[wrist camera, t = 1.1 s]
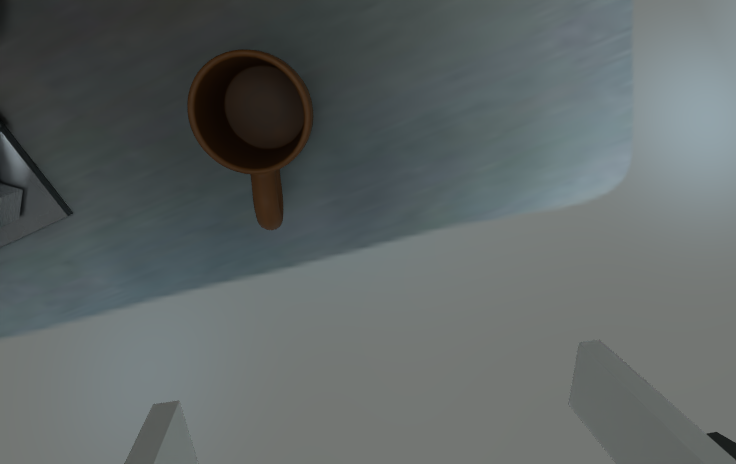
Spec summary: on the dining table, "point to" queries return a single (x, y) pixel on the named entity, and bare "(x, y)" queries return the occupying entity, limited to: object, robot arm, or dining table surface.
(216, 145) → the mug
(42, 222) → the base plate
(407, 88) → the dining table surface
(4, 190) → the sprocket
